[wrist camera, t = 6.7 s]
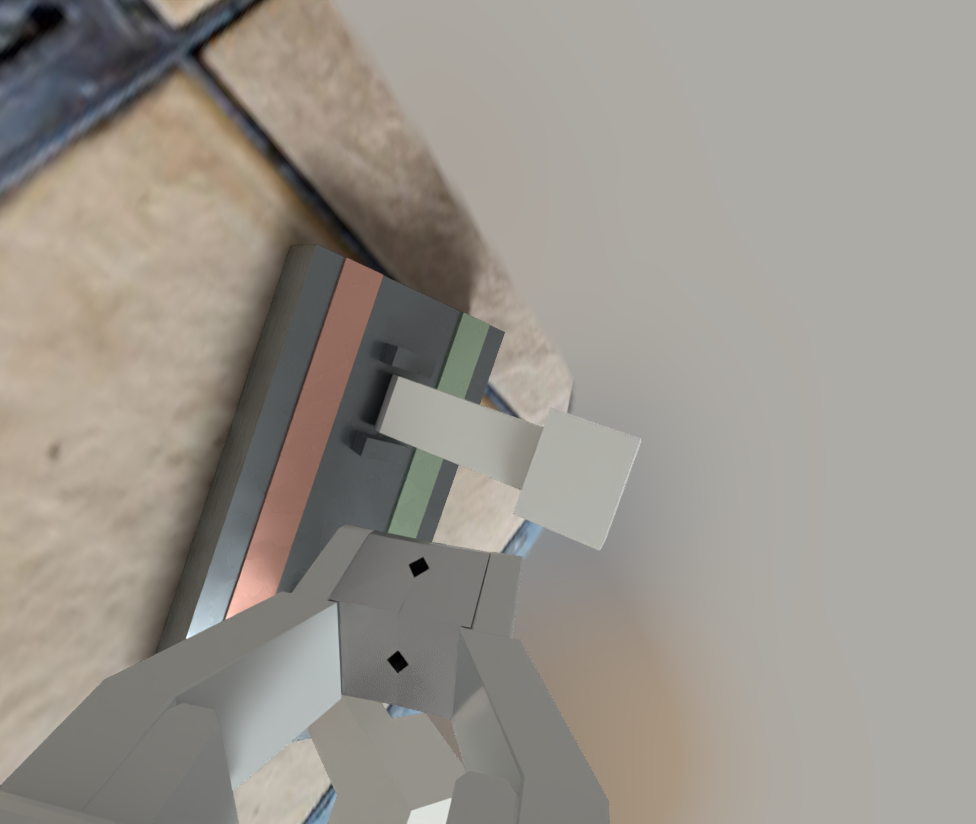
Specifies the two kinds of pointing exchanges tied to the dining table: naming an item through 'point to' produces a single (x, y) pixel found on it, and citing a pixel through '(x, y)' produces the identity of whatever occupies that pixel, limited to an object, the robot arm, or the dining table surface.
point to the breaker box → (325, 434)
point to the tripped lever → (384, 765)
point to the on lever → (521, 455)
